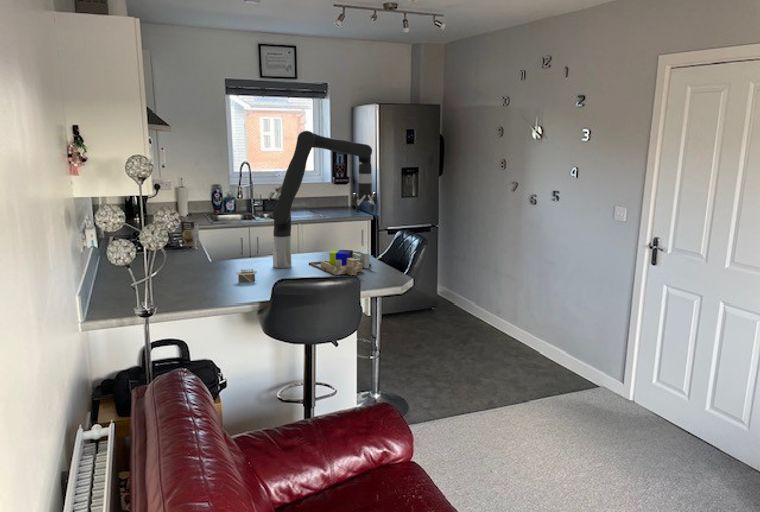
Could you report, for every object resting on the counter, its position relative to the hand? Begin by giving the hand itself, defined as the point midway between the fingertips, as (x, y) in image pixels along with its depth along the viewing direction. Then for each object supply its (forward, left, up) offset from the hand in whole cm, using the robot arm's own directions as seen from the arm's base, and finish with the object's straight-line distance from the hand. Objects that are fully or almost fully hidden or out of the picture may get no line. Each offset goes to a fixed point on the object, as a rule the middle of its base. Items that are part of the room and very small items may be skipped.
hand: (364, 212), depth 306 cm
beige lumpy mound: (-16, -6, -30) cm, 34 cm away
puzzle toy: (-16, -3, -30) cm, 34 cm away
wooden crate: (-68, -2, -31) cm, 74 cm away
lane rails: (-11, +8, -30) cm, 33 cm away
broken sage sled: (-2, +5, -30) cm, 30 cm away
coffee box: (-69, +105, -30) cm, 129 cm away
